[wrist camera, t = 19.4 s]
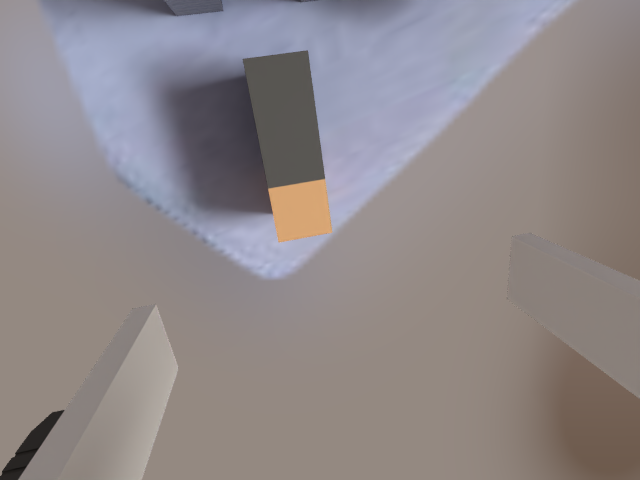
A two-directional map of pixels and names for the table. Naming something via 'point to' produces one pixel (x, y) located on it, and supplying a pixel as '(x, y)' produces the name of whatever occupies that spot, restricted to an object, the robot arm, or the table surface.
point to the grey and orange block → (289, 143)
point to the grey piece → (197, 6)
